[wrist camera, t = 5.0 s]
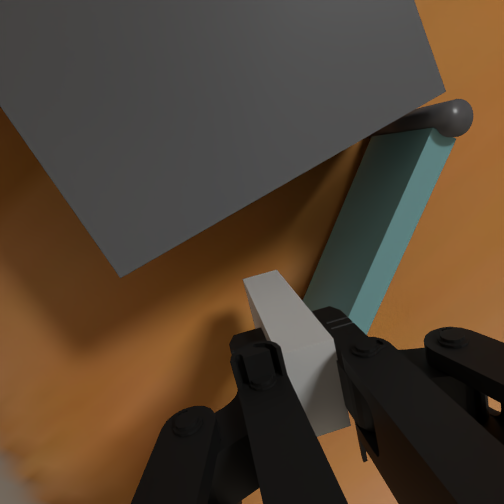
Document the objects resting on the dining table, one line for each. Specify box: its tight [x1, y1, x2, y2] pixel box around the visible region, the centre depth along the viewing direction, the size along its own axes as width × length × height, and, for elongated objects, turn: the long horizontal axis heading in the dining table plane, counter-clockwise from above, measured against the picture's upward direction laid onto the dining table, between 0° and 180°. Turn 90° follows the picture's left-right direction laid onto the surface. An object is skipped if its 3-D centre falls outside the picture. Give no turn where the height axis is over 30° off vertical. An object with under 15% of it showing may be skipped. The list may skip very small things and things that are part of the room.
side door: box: [303, 99, 473, 335], centre depth 16 cm, size 2×13×5 cm, turn 159°
